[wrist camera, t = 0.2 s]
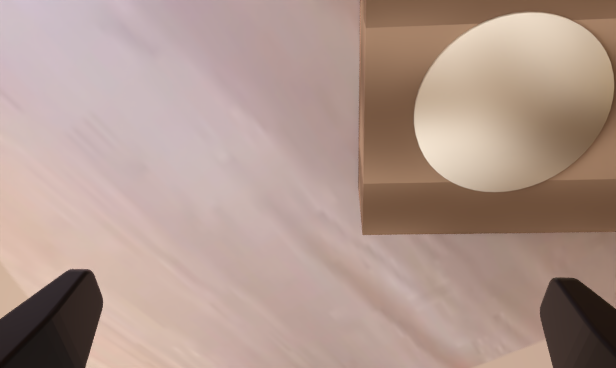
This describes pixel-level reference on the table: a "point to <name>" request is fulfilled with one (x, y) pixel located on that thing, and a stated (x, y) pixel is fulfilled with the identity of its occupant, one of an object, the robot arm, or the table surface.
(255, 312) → the table surface
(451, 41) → the pocket block
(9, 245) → the table surface
